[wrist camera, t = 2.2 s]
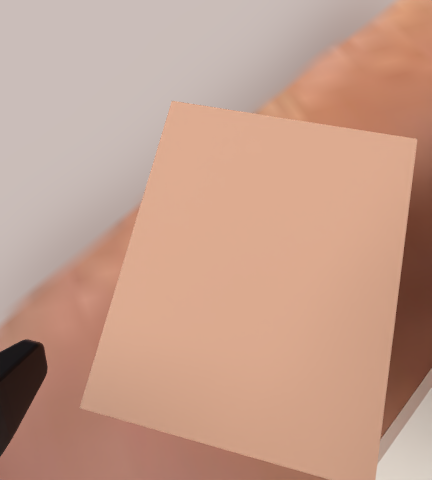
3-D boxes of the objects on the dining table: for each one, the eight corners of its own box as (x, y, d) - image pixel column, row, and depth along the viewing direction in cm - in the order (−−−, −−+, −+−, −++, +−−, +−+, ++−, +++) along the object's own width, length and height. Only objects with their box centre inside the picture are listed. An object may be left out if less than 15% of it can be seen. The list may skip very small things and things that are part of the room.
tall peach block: (287, 390, 17) (373, 492, 5) (199, 367, 18) (79, 408, 6) (307, 280, 19) (417, 138, 6) (224, 262, 19) (171, 100, 7)
